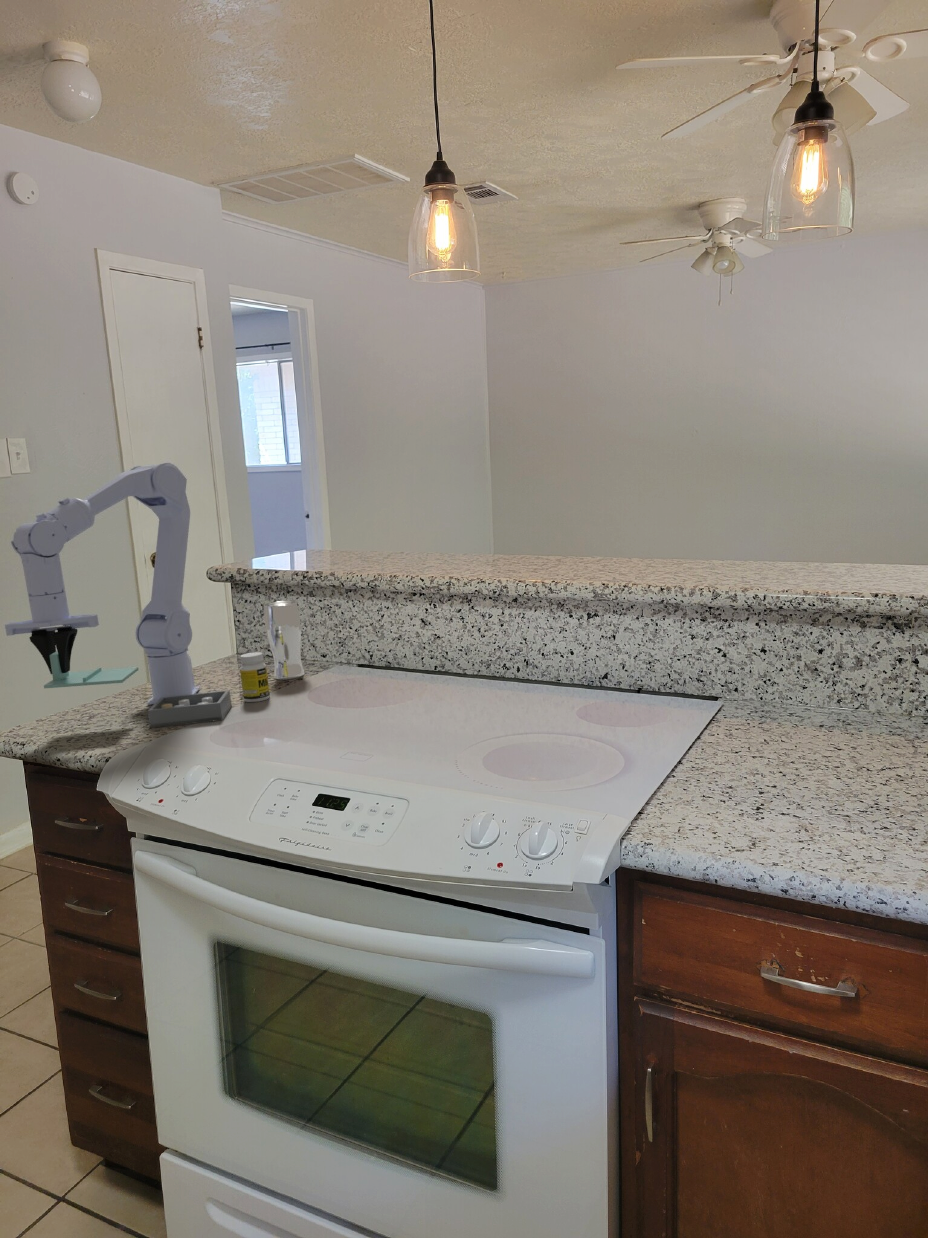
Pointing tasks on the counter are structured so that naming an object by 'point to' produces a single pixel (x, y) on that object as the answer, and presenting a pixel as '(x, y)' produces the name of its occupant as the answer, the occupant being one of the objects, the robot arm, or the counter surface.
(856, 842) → the counter surface
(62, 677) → the lid
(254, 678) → the supplement bottle
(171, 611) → the robot arm
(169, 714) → the tub
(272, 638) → the beer glass
